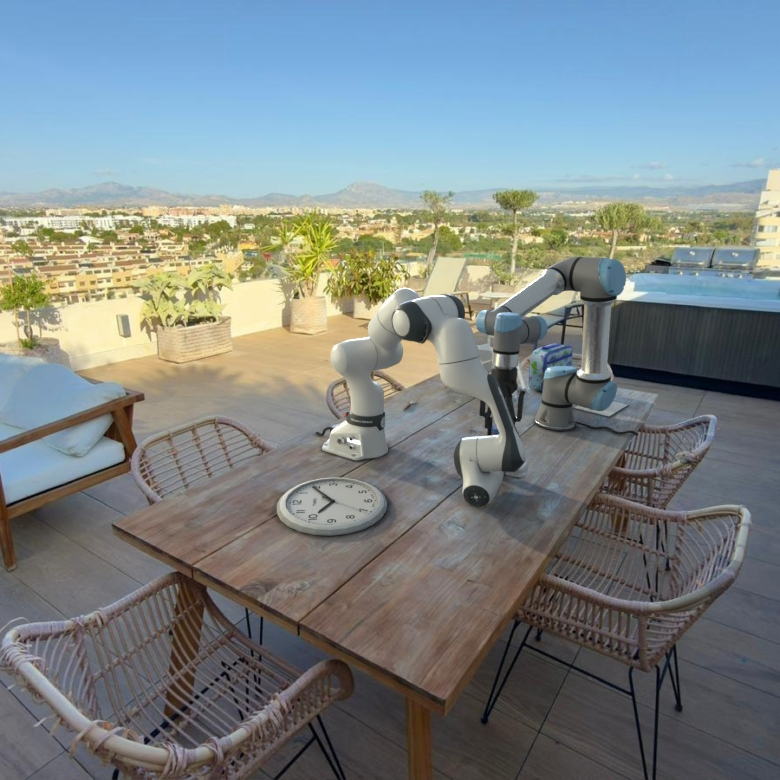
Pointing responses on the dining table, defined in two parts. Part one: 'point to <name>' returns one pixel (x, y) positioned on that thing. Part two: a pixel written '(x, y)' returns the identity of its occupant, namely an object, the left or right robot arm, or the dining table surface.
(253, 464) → the dining table surface
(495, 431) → the lid
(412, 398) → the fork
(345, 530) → the wall clock
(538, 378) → the lunch box
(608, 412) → the invitation card
